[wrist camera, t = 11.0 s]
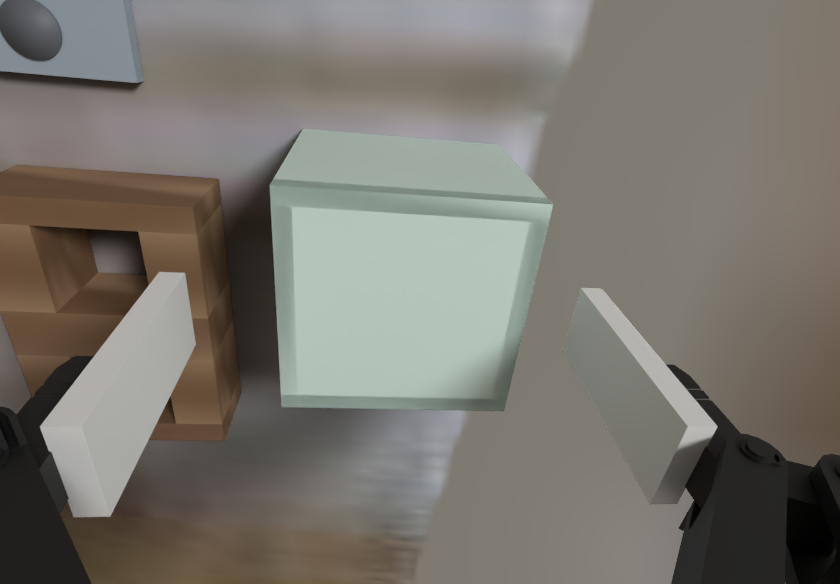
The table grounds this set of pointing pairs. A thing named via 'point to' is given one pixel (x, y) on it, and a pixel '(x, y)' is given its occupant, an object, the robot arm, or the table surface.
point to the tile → (70, 39)
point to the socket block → (117, 279)
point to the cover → (402, 271)
